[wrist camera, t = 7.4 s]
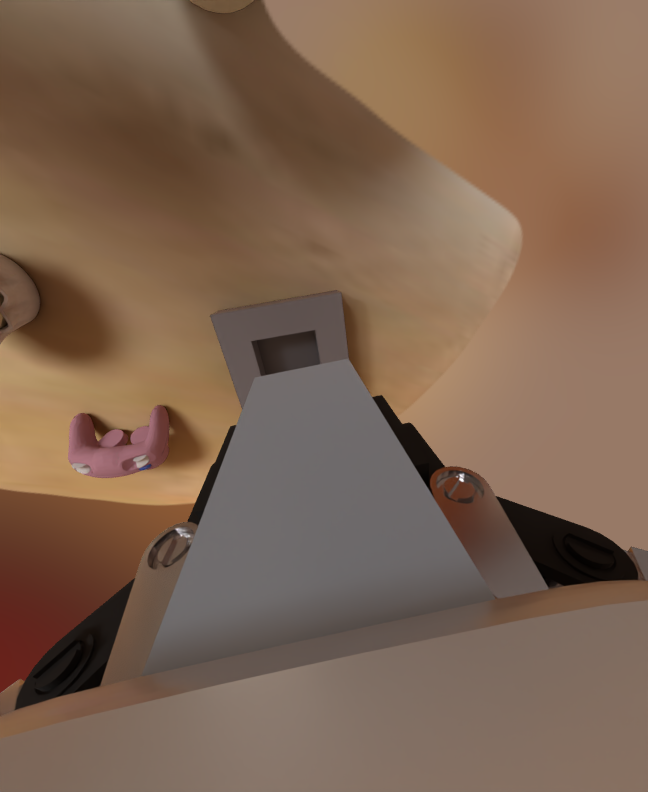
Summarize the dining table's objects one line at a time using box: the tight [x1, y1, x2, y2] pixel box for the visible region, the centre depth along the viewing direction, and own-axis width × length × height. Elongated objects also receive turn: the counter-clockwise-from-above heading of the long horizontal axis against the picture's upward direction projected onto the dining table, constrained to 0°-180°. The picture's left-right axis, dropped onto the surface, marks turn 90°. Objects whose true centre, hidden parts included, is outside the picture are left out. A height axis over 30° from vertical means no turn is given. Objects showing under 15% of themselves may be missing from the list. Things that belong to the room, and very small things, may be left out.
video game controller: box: [68, 405, 169, 478], centre depth 28 cm, size 10×5×7 cm, turn 94°
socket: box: [210, 290, 349, 410], centre depth 27 cm, size 12×12×3 cm
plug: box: [141, 359, 495, 677], centre depth 8 cm, size 4×4×10 cm
